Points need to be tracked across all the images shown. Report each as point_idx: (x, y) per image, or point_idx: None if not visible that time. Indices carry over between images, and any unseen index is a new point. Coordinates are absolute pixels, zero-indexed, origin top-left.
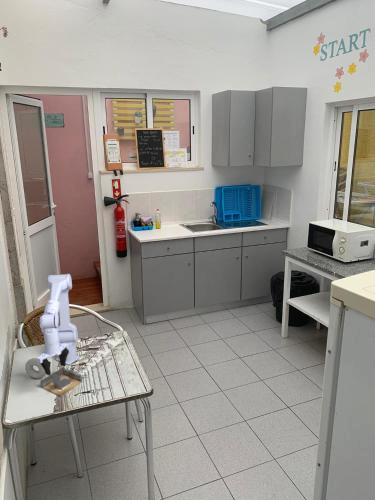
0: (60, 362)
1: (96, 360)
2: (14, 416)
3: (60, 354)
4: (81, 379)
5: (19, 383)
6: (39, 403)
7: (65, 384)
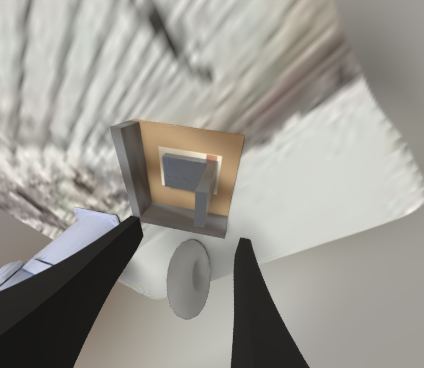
0: (132, 252)
1: (38, 159)
2: (386, 207)
3: (77, 323)
4: (127, 122)
5: (233, 264)
6: (301, 179)
7: (187, 160)
